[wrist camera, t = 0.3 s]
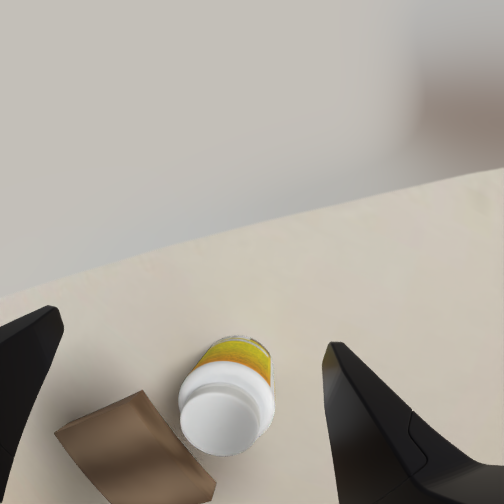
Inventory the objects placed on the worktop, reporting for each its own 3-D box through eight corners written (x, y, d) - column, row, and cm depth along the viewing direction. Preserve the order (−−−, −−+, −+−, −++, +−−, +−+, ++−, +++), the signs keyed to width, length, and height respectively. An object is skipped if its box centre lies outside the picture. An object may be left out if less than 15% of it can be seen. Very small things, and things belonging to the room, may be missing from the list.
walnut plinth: (216, 482, 22) (211, 500, 19) (133, 501, 22) (123, 516, 19) (142, 389, 23) (128, 402, 20) (68, 422, 23) (53, 433, 20)
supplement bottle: (198, 339, 23) (151, 381, 13) (266, 328, 23) (264, 368, 12) (213, 400, 22) (181, 469, 12) (279, 391, 22) (283, 462, 12)
